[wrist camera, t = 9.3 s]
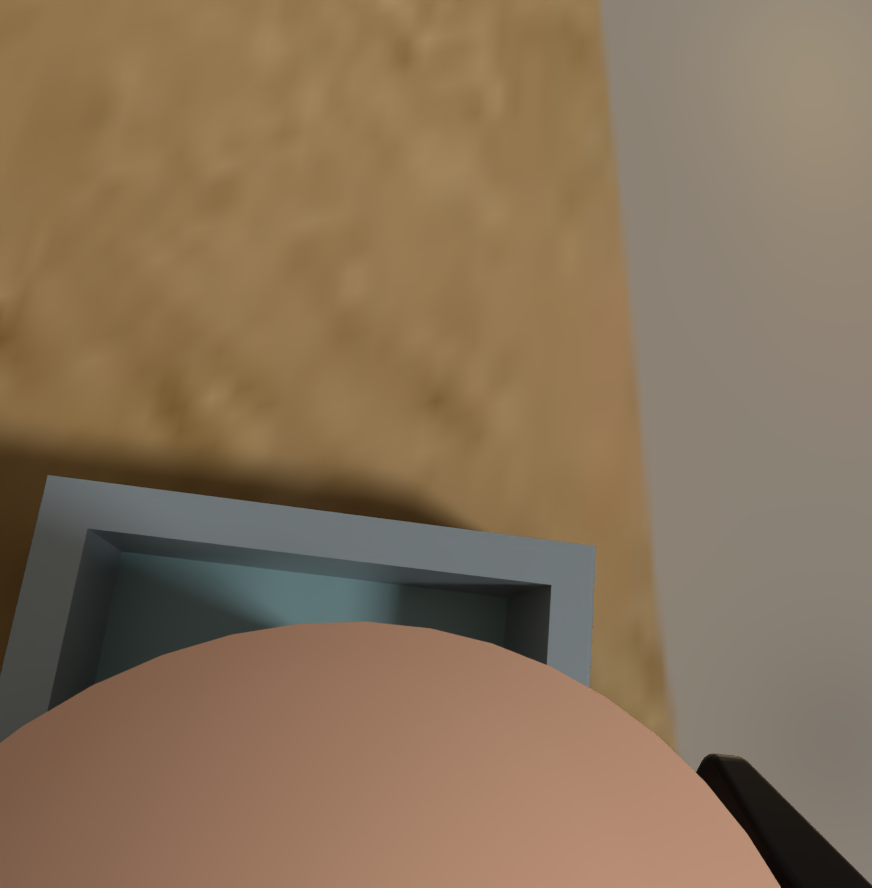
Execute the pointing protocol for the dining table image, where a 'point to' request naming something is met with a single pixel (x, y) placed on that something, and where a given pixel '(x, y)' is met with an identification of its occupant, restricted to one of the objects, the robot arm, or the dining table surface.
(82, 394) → the dining table surface
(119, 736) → the peach round cylinder
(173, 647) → the divided tray
